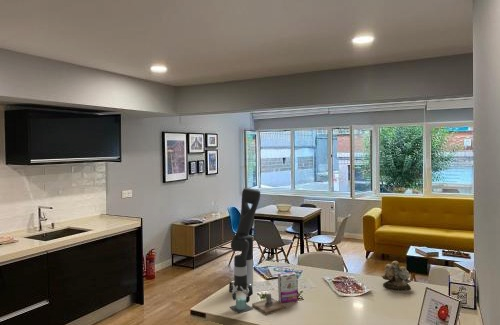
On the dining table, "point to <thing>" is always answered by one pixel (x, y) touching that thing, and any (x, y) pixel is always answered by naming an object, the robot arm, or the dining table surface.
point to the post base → (268, 305)
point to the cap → (240, 303)
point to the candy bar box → (288, 287)
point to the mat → (241, 310)
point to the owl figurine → (396, 277)
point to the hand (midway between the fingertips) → (241, 301)
